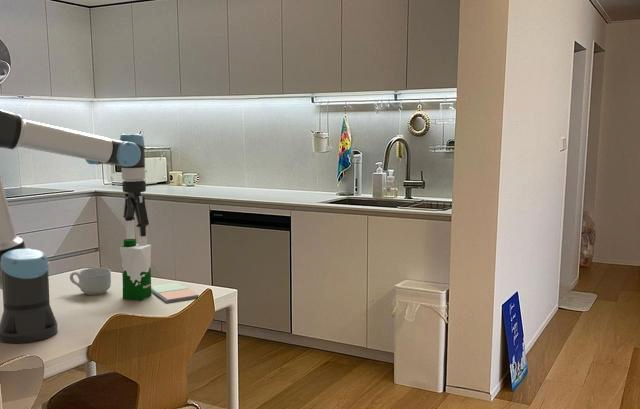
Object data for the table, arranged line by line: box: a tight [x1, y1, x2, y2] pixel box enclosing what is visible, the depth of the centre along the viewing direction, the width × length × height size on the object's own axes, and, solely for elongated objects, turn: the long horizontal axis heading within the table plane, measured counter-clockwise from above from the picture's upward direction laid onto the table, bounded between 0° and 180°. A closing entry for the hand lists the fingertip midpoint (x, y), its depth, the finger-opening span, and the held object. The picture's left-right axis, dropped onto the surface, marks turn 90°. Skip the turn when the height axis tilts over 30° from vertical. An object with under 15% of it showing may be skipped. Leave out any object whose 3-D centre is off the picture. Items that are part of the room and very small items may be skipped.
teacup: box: [69, 267, 112, 296], centre depth 212 cm, size 14×11×8 cm
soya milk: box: [119, 238, 152, 301], centre depth 206 cm, size 9×9×20 cm
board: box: [151, 282, 200, 304], centre depth 212 cm, size 12×20×1 cm, turn 34°
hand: (136, 242), depth 205 cm, fingers open, 13 cm apart
